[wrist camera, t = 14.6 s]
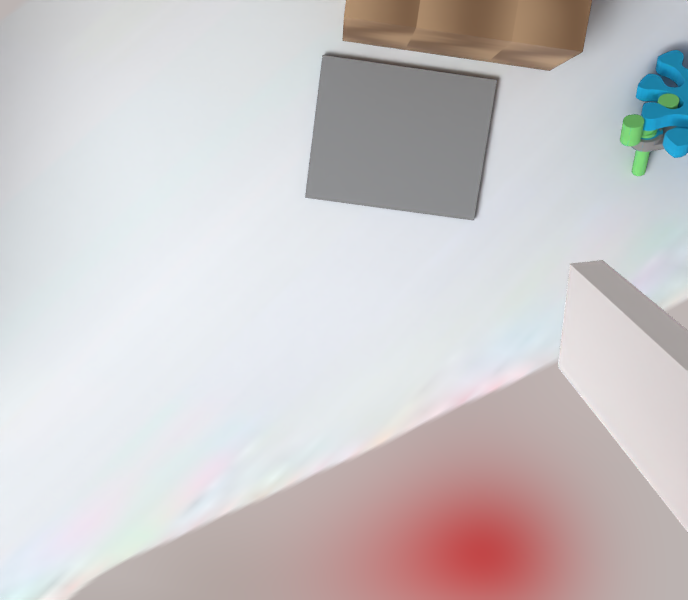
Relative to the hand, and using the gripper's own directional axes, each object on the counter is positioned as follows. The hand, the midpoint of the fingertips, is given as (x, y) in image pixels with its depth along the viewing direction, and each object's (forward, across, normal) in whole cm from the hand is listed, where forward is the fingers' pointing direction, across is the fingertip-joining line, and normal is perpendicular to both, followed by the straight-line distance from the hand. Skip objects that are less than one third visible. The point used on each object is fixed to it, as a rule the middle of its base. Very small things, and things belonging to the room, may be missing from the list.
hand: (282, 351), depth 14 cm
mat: (+25, +8, -2) cm, 26 cm away
